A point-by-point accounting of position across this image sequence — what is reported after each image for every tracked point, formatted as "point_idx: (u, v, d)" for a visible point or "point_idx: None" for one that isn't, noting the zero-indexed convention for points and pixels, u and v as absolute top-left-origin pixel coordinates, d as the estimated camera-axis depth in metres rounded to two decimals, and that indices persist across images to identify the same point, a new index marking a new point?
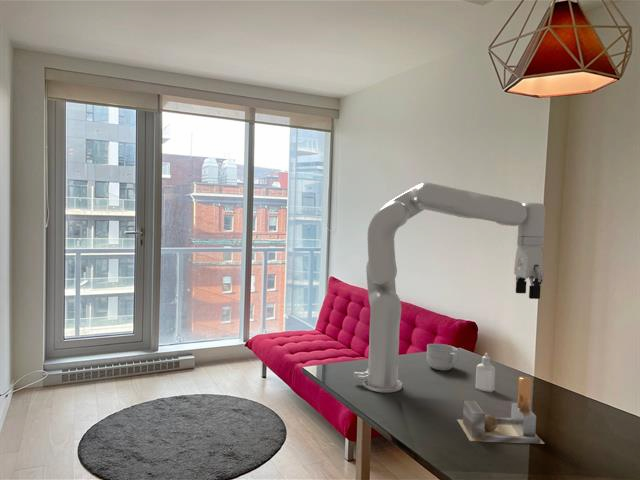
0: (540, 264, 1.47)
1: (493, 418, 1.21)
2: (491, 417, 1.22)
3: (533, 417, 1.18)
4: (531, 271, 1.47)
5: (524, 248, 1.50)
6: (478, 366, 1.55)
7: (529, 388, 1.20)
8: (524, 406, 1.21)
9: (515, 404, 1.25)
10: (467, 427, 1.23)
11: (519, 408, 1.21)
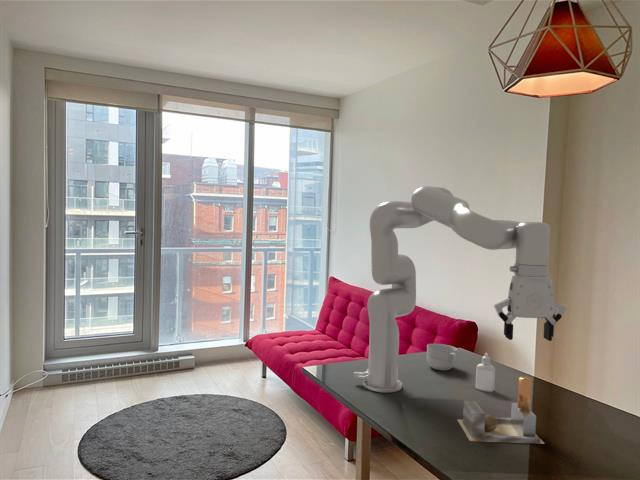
0: None
1: (493, 418, 1.21)
2: (491, 417, 1.22)
3: (533, 417, 1.18)
4: None
5: (543, 280, 1.17)
6: (478, 366, 1.55)
7: (529, 388, 1.20)
8: (524, 406, 1.21)
9: (515, 404, 1.25)
10: (467, 427, 1.23)
11: (519, 408, 1.21)
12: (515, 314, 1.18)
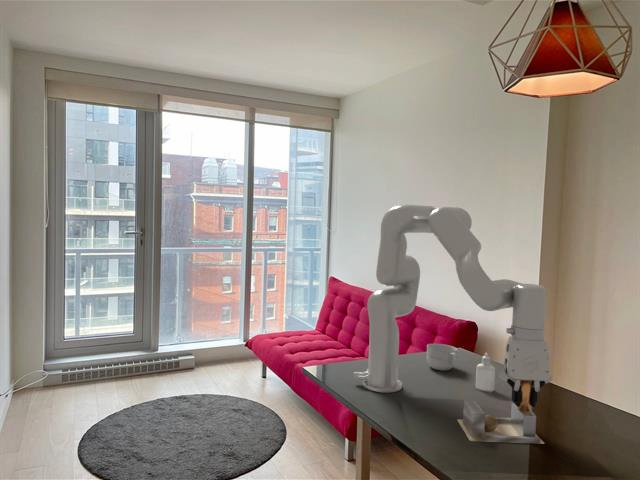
0: None
1: (493, 418, 1.21)
2: (491, 417, 1.22)
3: (533, 417, 1.18)
4: None
5: (539, 344, 1.18)
6: (478, 366, 1.55)
7: (529, 388, 1.20)
8: (524, 406, 1.21)
9: None
10: (467, 427, 1.23)
11: (519, 408, 1.21)
12: (511, 377, 1.19)
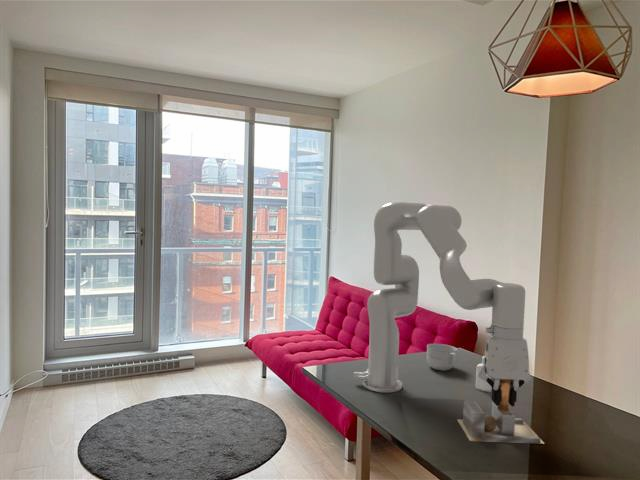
0: None
1: (491, 418, 1.21)
2: (489, 417, 1.22)
3: (512, 416, 1.18)
4: None
5: (518, 343, 1.19)
6: (478, 366, 1.55)
7: (508, 387, 1.21)
8: (503, 405, 1.21)
9: None
10: (467, 427, 1.23)
11: (498, 407, 1.22)
12: (490, 376, 1.19)
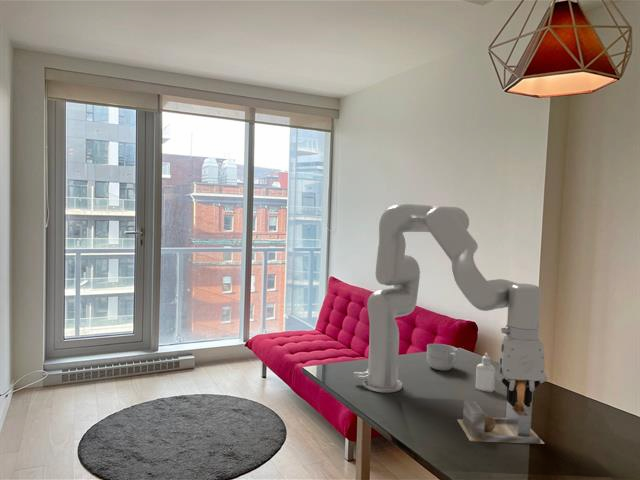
0: None
1: (490, 417, 1.21)
2: (487, 417, 1.22)
3: (528, 417, 1.18)
4: None
5: (534, 343, 1.18)
6: (478, 366, 1.55)
7: (524, 388, 1.20)
8: (519, 406, 1.21)
9: None
10: (467, 427, 1.23)
11: (514, 408, 1.21)
12: (506, 376, 1.19)
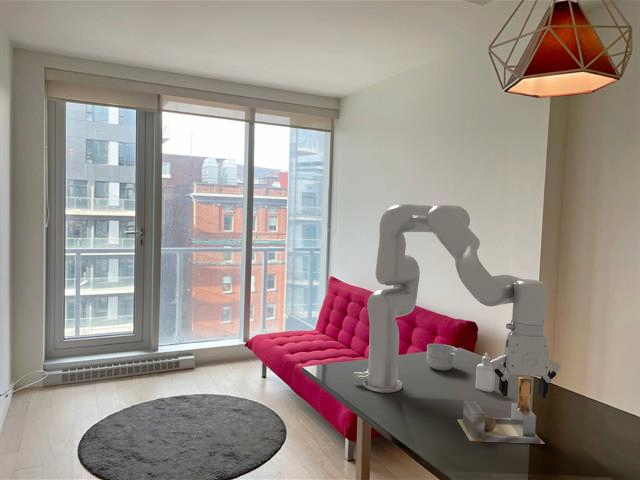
0: None
1: (490, 417, 1.21)
2: (488, 417, 1.22)
3: (533, 417, 1.18)
4: None
5: (539, 339, 1.18)
6: (478, 366, 1.55)
7: (529, 388, 1.20)
8: (524, 406, 1.21)
9: (515, 404, 1.25)
10: (467, 427, 1.23)
11: (519, 408, 1.21)
12: (510, 372, 1.19)
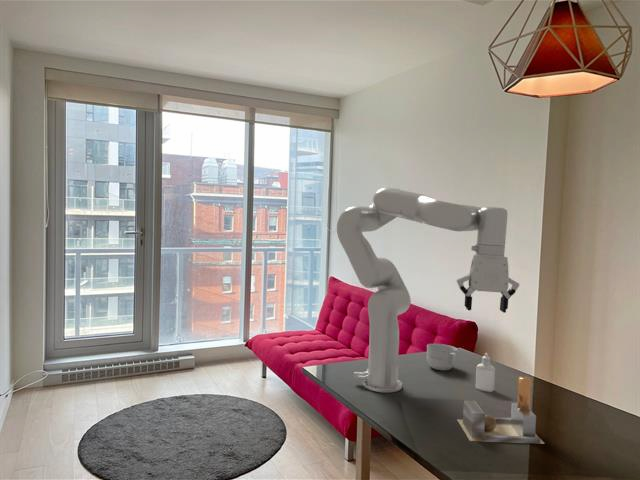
0: None
1: (491, 418, 1.21)
2: (489, 417, 1.22)
3: (533, 417, 1.18)
4: None
5: (499, 259, 1.33)
6: (478, 366, 1.55)
7: (529, 388, 1.20)
8: (524, 406, 1.21)
9: (515, 404, 1.25)
10: (467, 427, 1.23)
11: (519, 408, 1.21)
12: (474, 288, 1.34)
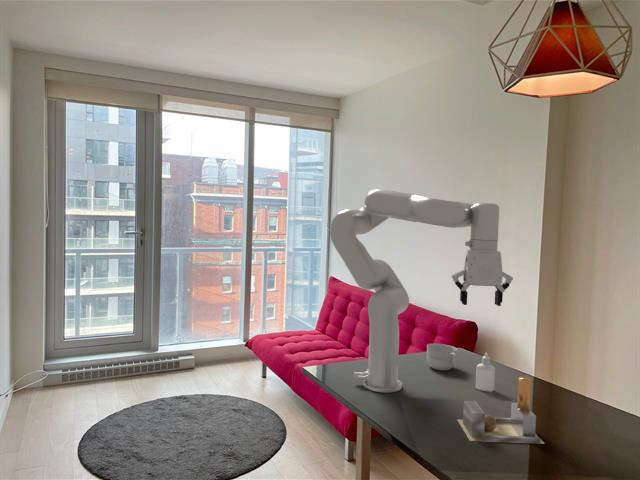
0: None
1: (491, 418, 1.21)
2: (489, 417, 1.22)
3: (533, 417, 1.18)
4: None
5: (493, 253, 1.36)
6: (478, 366, 1.55)
7: (529, 388, 1.20)
8: (524, 406, 1.21)
9: (515, 404, 1.25)
10: (467, 427, 1.23)
11: (519, 408, 1.21)
12: (469, 282, 1.37)
